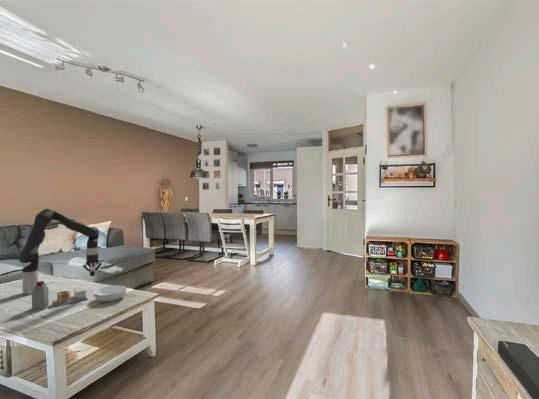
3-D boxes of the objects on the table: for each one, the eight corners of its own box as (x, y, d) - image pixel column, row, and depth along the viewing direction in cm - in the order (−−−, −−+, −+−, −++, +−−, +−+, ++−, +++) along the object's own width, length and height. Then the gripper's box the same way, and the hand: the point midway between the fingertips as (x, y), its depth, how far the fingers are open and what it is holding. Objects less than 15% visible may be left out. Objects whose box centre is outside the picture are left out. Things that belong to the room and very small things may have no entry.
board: (53, 302, 196) (52, 293, 196) (82, 295, 209) (82, 287, 209) (56, 307, 188) (56, 298, 188) (87, 299, 201) (87, 291, 201)
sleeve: (57, 300, 196) (57, 292, 195) (67, 298, 200) (67, 290, 200) (59, 303, 192) (59, 294, 191) (69, 300, 196) (69, 292, 196)
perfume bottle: (36, 307, 188) (36, 280, 187) (48, 305, 190) (48, 279, 190) (32, 311, 182) (31, 283, 181) (44, 309, 184) (44, 282, 183)
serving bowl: (112, 306, 191) (112, 296, 190) (86, 303, 195) (86, 293, 195) (132, 295, 211) (132, 286, 211) (109, 293, 215) (109, 284, 215)
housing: (74, 296, 204) (74, 289, 204) (83, 294, 208) (82, 287, 208) (77, 299, 198) (77, 292, 198) (86, 297, 202) (86, 290, 202)
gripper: (83, 255, 201) (83, 279, 201) (103, 252, 211) (103, 275, 211) (80, 254, 206) (80, 277, 206) (100, 251, 216) (100, 273, 216)
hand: (92, 276), depth 209 cm, fingers closed
